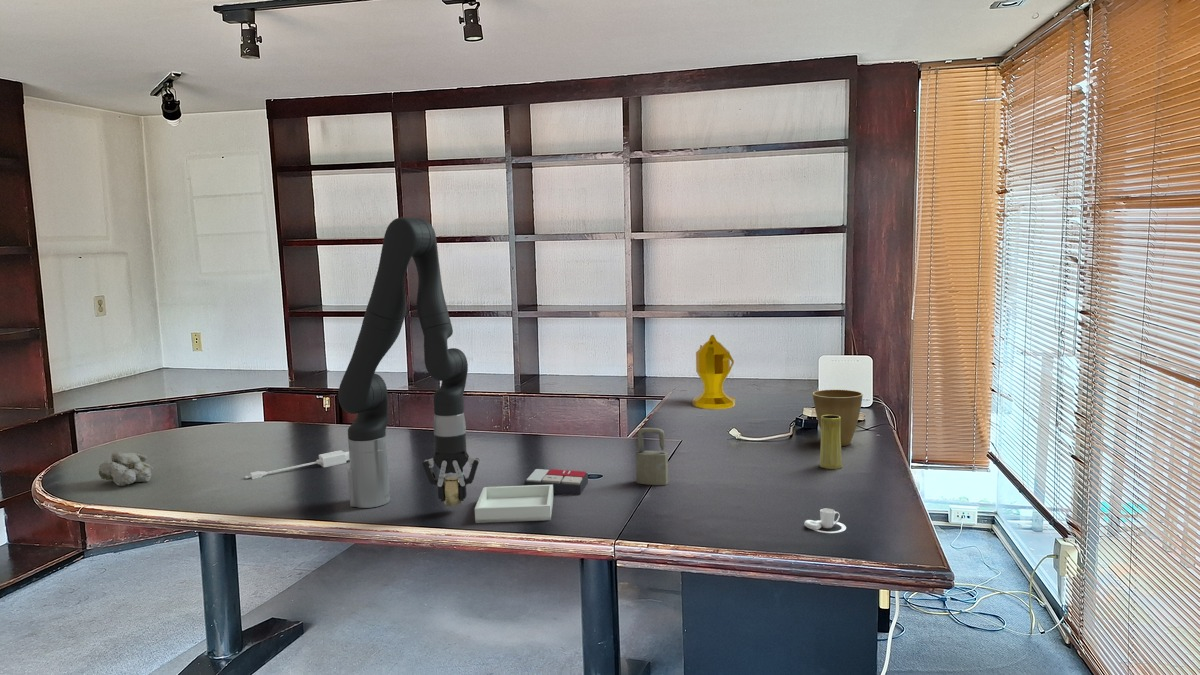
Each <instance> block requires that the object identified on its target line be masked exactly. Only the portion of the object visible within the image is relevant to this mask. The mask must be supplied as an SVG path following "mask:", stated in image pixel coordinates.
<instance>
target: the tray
mask: <svg viewBox="0 0 1200 675" xmlns="http://www.w3.org/2000/svg"><path fill="white" fill-rule="evenodd" d="M553 504H554V494H553V485H528V486H524V485H510V486H509V485H508V486H507V485H506V486H505V485H504V486H503V485H500V486H484V487H483V488H482V490H481V493H480V495H479V498H478V501H477V502H476V504H475V507H474V520H475V524H481V523H482V524H485V523H487V524H488V523H490V524H491V523H510V522H511V523H512V522H515V523H516V522H517V523H518V522H534V521H535V522H538V521H552V515H553V514H552V513H553V507H554V506H553Z"/></svg>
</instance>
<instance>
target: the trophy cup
mask: <svg viewBox="0 0 1200 675" xmlns="http://www.w3.org/2000/svg"><path fill="white" fill-rule="evenodd" d="M734 363H735V360H734V359H733V357H732V356H731V353H730V351H729V350H728V349H727V348H726V347H725V346H724V345H723V344H722V343H721V342H719V341H717V338H716V337H715V335H714V334H710V336H709V338H708V340H707V341H706V342H705V343H704V344H702V345H699V349H697V351H696V352H695V370H696V373H697V375H698V377H699V379H700V380H701V382H702V384H703V386H702V387H703V391H702V392H701V394H700V395H698V396H696V397H694V398H693V399H692V401H691V402H692V406H694V407H695V408H700V409H703V410H726V409H730V408H733V407H735V405H736V397H735V396H734V397H733V396H729V395H727V393H726V392H725V391H724V383H725V381H726V379H727V377H728V375H729V374H730V373H731V370H732V367H733V366H734Z"/></svg>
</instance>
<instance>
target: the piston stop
mask: <svg viewBox="0 0 1200 675" xmlns="http://www.w3.org/2000/svg"><path fill="white" fill-rule="evenodd" d="M459 487H460V482H459V479H458V478H457V476H449V477H445V479H444V501H443V502H444V505H445V506H448V507H452V506H453V507H454V506H458V505H461V504H462V501H460V491H459Z"/></svg>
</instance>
